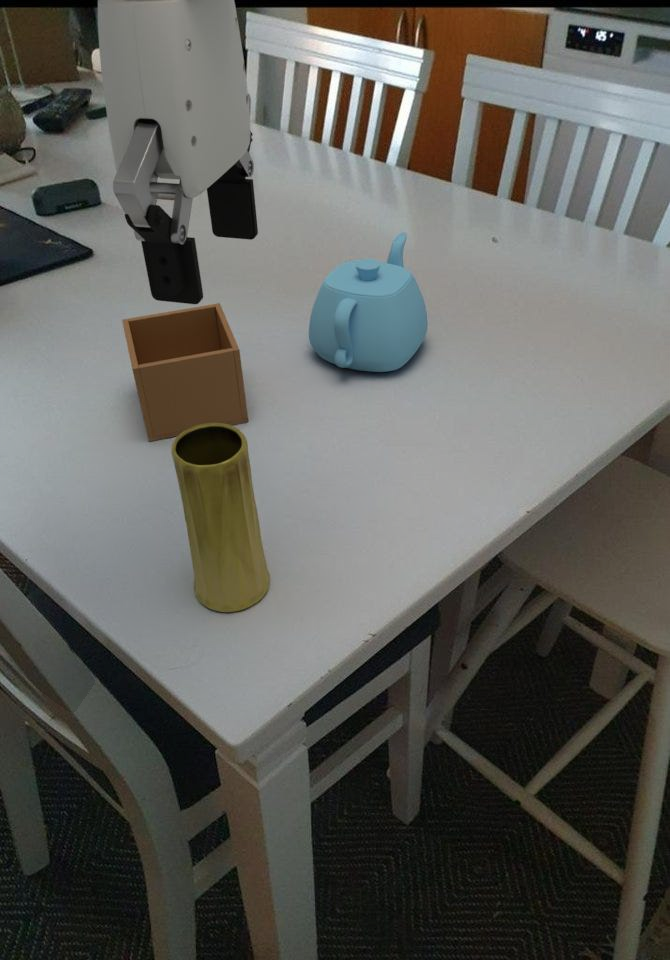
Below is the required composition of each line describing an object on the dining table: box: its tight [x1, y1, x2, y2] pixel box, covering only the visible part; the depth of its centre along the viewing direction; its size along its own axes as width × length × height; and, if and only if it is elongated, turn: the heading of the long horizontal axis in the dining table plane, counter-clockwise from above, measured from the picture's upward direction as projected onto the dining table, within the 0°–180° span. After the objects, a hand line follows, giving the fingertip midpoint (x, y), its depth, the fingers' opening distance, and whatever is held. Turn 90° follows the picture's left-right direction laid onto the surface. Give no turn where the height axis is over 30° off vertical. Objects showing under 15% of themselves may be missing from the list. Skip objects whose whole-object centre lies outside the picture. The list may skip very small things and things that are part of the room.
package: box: [121, 302, 249, 443], centre depth 83 cm, size 10×10×8 cm
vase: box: [171, 423, 271, 613], centre depth 61 cm, size 6×6×14 cm
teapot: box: [308, 232, 429, 373], centre depth 90 cm, size 13×11×18 cm
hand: (208, 266), depth 53 cm, fingers open, 9 cm apart
